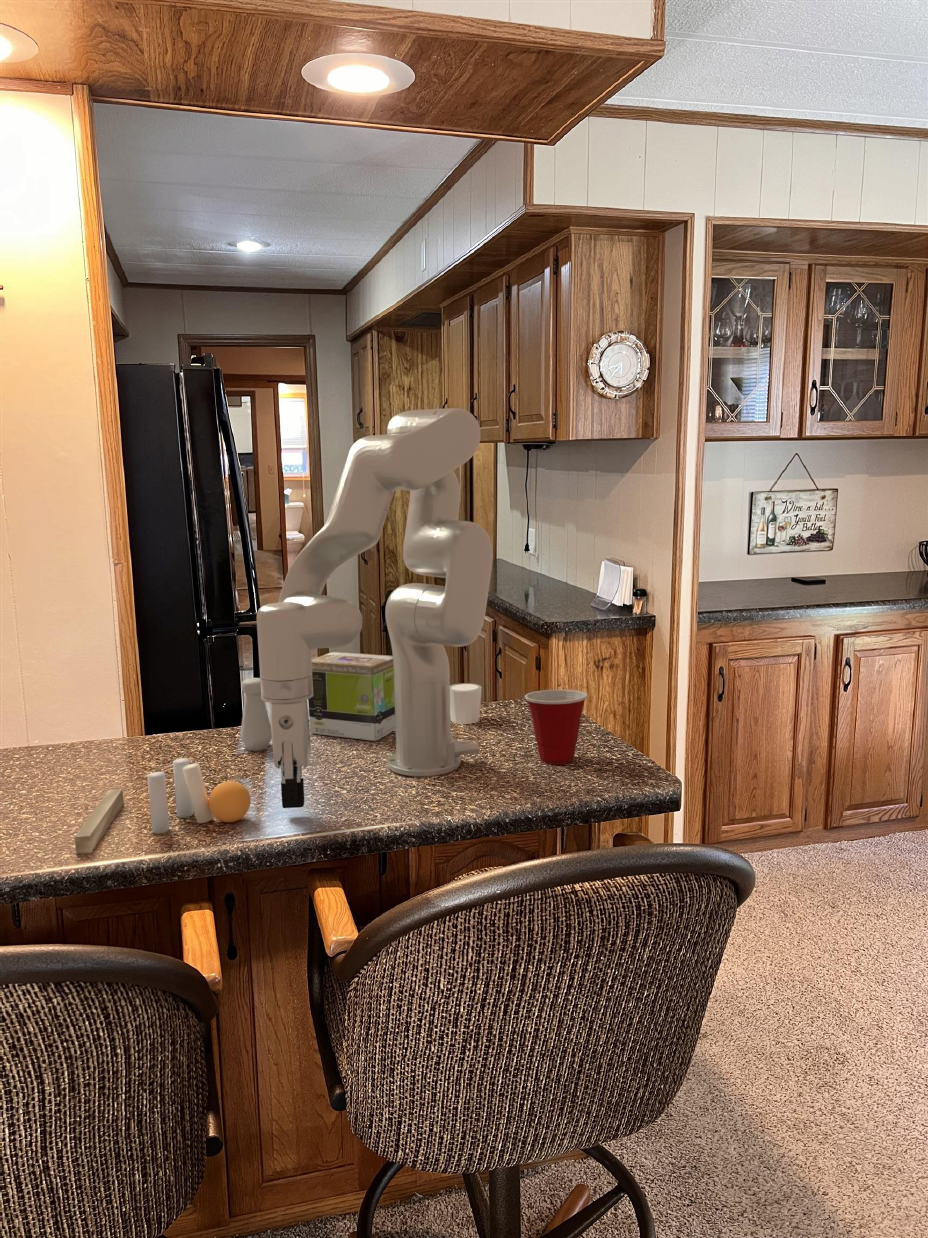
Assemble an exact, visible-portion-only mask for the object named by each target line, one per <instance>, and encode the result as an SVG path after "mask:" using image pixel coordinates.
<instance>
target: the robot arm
mask: <svg viewBox="0 0 928 1238" xmlns="http://www.w3.org/2000/svg"><path fill="white" fill-rule="evenodd" d="M480 442H481V427H480V424H479V422H478V420H477V418H476V417H475V416H474V414H472V413H471V412H470V411H468V410H466V409H464V408H459V407H454V408H453V407H450V408H449V407H447V408H435V409H434V408H432V409H431V408H429V409H415V410H414V409H411V410H406V411H403V412H399V413H397V414H395V415H394V416H392V418H391V419H390V420H389V422H388V424H387V428H386V434H375V435H367V436H363V437H361V438H359V439H357V440H356V441H355V442H354V443H353V444H352V445H351V447H350V449H349V452H348V455H347V458H346V460H345V464H344V466H343V470H342V473H341V475H340V478H339V482H338V486H337V488H336V490H335V494H334V497H333V500H332V501H333V502H332V503H331V506H330V510H329V513H328V516H327V519H326V522H325V523H324V525H323V526H322V528H321V529H320V530H319V531H318V532H317V533H316V534H315V535H313V537H312V538H311V539H310V540H309V541H308V542H307V544H306V545H305V546H304V547H303V548H302V550H301V551H300V552H299V554H297V555H296V557H295V559H294V560H293V561H292V563H291V565H290V567H289V568H288V570H287V573H286V577H285V578H284V581H283V585H282V588H281V591H280V594H279V597H278V601H277V602H272V603H267V604H264V605H262V606H261V607H260V608H258V610H257V613H256V631H257V633H256V634H257V645H258V662H259V674H260V675H259V678H260V682H261V699H262V700H263V701H265V703H269V711H270V712H269V713H270V717H269V718H270V726H271V734H272V739H271V744H272V756H273V763H274V765H273V766H274V767H275V768H276V769H277V770H278V769H279V770H280V772H281V773H280V774H281V775H280V776H281V779H280V780H281V782H280V790H281V792H280V793H281V806H282V808H283V809H294V808H304V805H305V787H304V786H305V785H304V784H305V783H304V777H303V770H302V767H303V768H307V767H308V766H309V764H310V759H311V753H312V751H311V750H312V746H311V745H312V744H311V733H310V721H309V705H308V699H310V698H312V697H313V678H312V659H313V658H312V651H313V650H314V649H335V648H342V647H344V646H347V645H349V644H351V643H352V642H354V641H355V640H356V639H357V638H358V637H359V635H360V633H361V632H362V629H363V615H362V612H361V611H360V609H359V608H358V606H357V605H356V604H355V603H353V602H352V601H350V600H349V599H347V598H346V599H345V598H342V597H338V596H332V595H331V596H329V595H325V594H322V593H323V590H324V587H325V585H326V583H327V582H328V580H329V579H330V577H331V575H332V574H333V573H334V572H335V571H336V570H337V569H338V568H339V567H340V566H341V565H343V564H344V563H346V562H347V561H349V560H350V559H352V558H354V557H356V556H359V555H360V554H363V552H365V551H367V550H369V549H371V548H372V547H374V546H375V545H377V543H378V542H379V541H380V538H381V535H382V532H383V529H384V524H385V521H386V517H387V516H388V511H389V508H390V507H391V503H392V500H393V497H394V493H395V491H409V500H408V501H409V504H408V510H407V516H406V517H407V518H406V523H405V524H406V525H405V532H404V538H403V547H402V558H403V562H404V565H405V567H406V568H407V569H408V570H409V571H410V572H412V573H414V574H417V575H421V576H426V577H433V578H442V579H445V585H444V586H443V585H437V584H429V583H420V582H415V583H413V582H412V583H411V582H410V583H406V584H402V585H400V586H398V587H397V588H395V589H394V590H393V591H392V592H391V593H390V595H389V596H388V598H387V601H386V604H385V622H386V627H387V632H388V635H389V639H390V640H389V641H390V645H391V651H392V652H391V653H392V656H393V668H394V699H395V726H396V730H395V746H396V748H395V749H396V750H395V751H396V752H394V753H392V754H391V755H390V756H389V757H388V759H387V767H388V768H389V770H390V771H392V772H393V773H396V774H398V775H403V776H409V777H434V776H438V775H439V776H441V775H445V774H448V773H450V772H453V771H454V770H456V769H458V768H459V767H460V766H461V764H462V763H461V762H462V761H461V760H462V759H461V755H478V754H479V752H480V751H479V749H480V748H479V743H478V742H471V741H470V740H469V739H468V740H467V739H466V740H459V741H458V740H457V739H454V738H453V734H452V728H451V727H452V726H451V725H452V723H451V715H450V686H451V682H450V680H451V678H450V677H451V674H450V673H451V671H450V663H449V662H450V661H449V657H448V654H447V651H446V649H445V646H451V647H457V648H458V647H459V648H460V647H466V646H469V645H471V644H472V643H473V642H475V641H476V640H477V638H478V637H479V636H480V633H481V631H482V629H483V625H484V622H485V617H486V612H487V605H488V598H489V590H490V583H491V577H492V571H493V570H492V569H493V560H494V551H493V544H492V541H491V537H490V535H489V533H488V532H487V530H486V529H485V528H484V527H483V526H481V525H480V524H478V523H476V522H473V521H469V520H468V521H467V520H459V518H460V516H459V515H460V507H461V506H460V504H461V489H460V488H461V487H460V483H459V480H458V477H457V475H456V473H455V470H456V469H457V468H459V467H461V466H463V465H464V464H466V463H467V462H468V461H469V460H470V459H471V458H472V457H474V455H475V454H476V452H477V450H478V449H479V446H480Z"/></svg>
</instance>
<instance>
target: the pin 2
mask: <svg viewBox="0 0 928 1238" xmlns="http://www.w3.org/2000/svg"><path fill="white" fill-rule="evenodd" d="M190 763H191V762H190V759H188V758H186V757H185V758H183V757H182V758H177V759H174V760H173V761H172V768H173V769H172V770H173V771H172V772H173V782H174V794H175V806H176V817H178V818H180V819H181V818H189V817H191V816H194V815H195V813H194V809H193V805H192V802H191V798H190V794H189V791H188V787H187V783H186V780H185V776H184V772H183V768H184V767H185V766H187V765H190Z"/></svg>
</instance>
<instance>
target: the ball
mask: <svg viewBox="0 0 928 1238" xmlns="http://www.w3.org/2000/svg"><path fill="white" fill-rule="evenodd" d="M208 799H209V808H210V811H211V813H212V814H213V817H215V818H216V820H218V821H221V822H223V823H233V822H238V821H239V820H241V819H242V818H243V817H244V816H245V815H246V814H247V813H248V811H249V810H250V806H251V794H250V792H249V791H248V789H247V787H246V786H244V785H243V784H242V783H240V782H238V781H233V780H228V781H223V782H221V783H218V785H216V786H215V787H214V788H213V789H212V791H211V793H210V794H209V796H208Z"/></svg>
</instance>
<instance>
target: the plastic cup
mask: <svg viewBox="0 0 928 1238" xmlns="http://www.w3.org/2000/svg"><path fill="white" fill-rule="evenodd" d="M587 698H588V694H587V692H585V691H582V690H575V689H574V690H573V689H545V690H536V691H532V692H529V693H526V694H525V695H524V699H525V700H526V702H527V705H528V708H529V711H530V715H531V720H532V725H533V731H534V736H535V737H534V738H535V741H536V744H537V750H538V756H539V758H540V759H541V760H540V759H539V760H540V761H541V762H542V761H543V762H542V763H544V762H545V763H544V764H546V763H548V765H550V764H564V765H568V764H570V763H572V762H573V761H572V760H574V757H575V754H576V746H577V743H578V737H579V731H580V725H581V720H582V713H583V711H584V710H583V708H584V705H585V702H586V699H587ZM571 761H572V762H571ZM569 762H570V763H569ZM567 763H568V764H567Z"/></svg>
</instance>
